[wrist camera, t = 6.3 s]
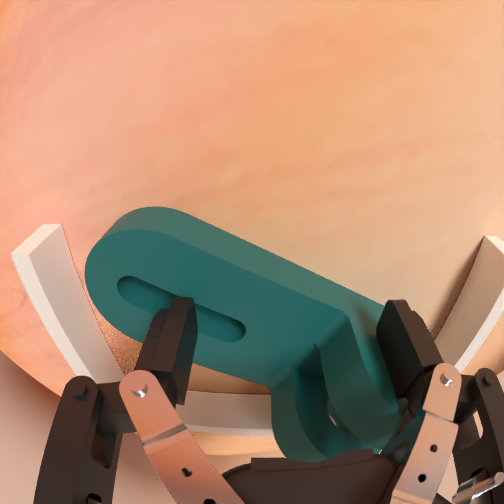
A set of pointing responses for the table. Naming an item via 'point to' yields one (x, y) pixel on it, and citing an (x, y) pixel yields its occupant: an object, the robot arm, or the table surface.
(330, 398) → the bracket
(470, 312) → the white open frame
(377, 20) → the table surface
